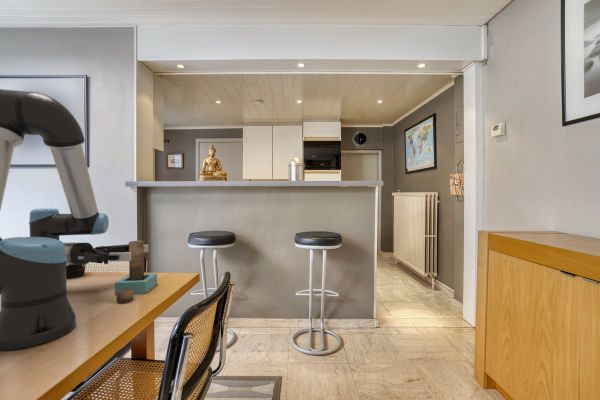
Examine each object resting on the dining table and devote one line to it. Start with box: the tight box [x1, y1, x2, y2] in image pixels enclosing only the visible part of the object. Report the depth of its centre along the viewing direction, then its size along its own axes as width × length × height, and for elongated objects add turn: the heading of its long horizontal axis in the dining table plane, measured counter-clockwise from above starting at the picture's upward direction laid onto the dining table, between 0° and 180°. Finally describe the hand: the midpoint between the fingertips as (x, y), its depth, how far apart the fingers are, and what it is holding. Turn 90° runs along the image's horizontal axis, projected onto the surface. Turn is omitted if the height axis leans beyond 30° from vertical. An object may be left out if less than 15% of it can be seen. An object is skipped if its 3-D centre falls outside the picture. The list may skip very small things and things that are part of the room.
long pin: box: [128, 240, 145, 281], centre depth 101 cm, size 4×4×17 cm
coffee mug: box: [66, 264, 87, 279], centre depth 115 cm, size 12×9×10 cm
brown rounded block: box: [116, 289, 134, 304], centre depth 90 cm, size 4×4×3 cm
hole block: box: [114, 273, 158, 296], centre depth 101 cm, size 10×10×4 cm
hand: (140, 252), depth 101 cm, fingers open, 13 cm apart
